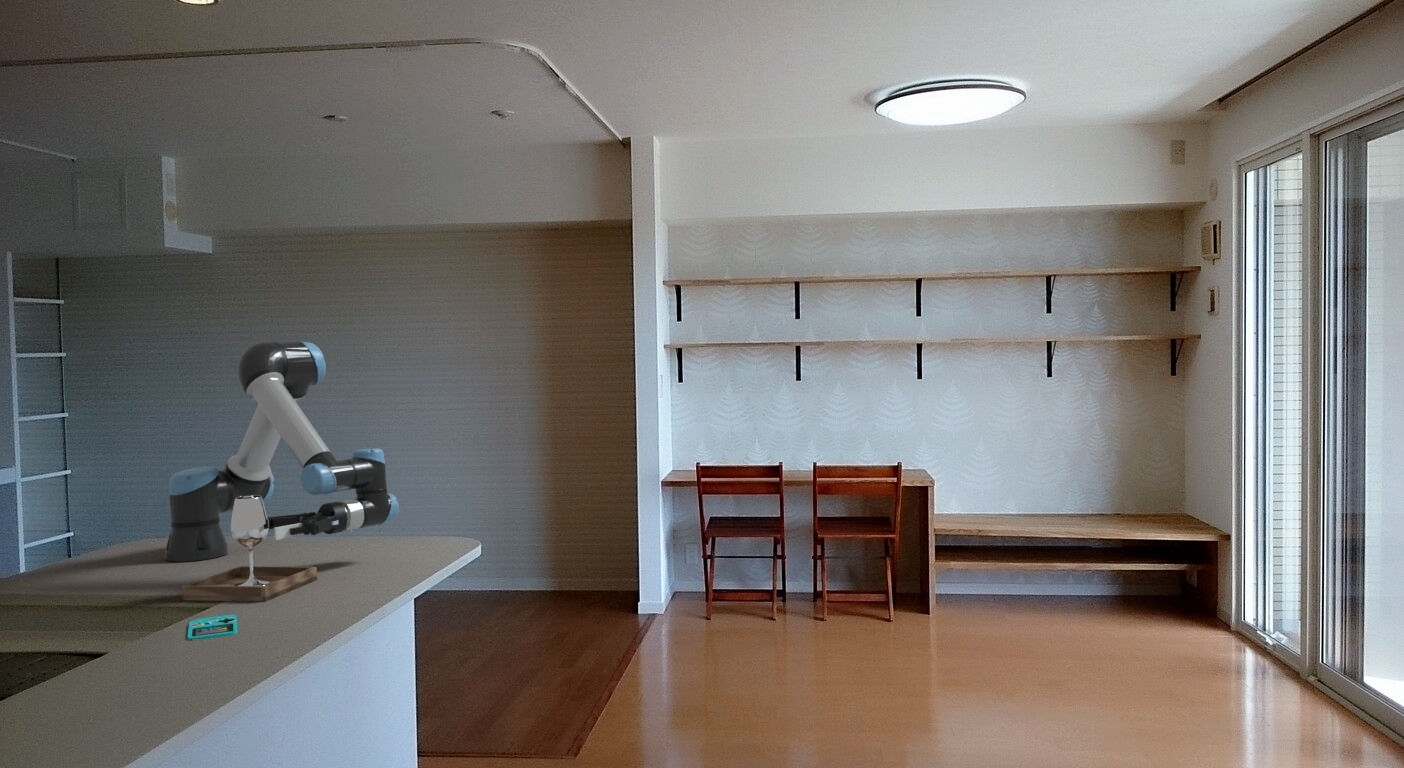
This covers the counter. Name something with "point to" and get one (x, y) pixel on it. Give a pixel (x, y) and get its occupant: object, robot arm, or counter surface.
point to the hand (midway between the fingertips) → (257, 531)
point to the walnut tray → (224, 589)
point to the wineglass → (249, 529)
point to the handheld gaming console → (212, 626)
